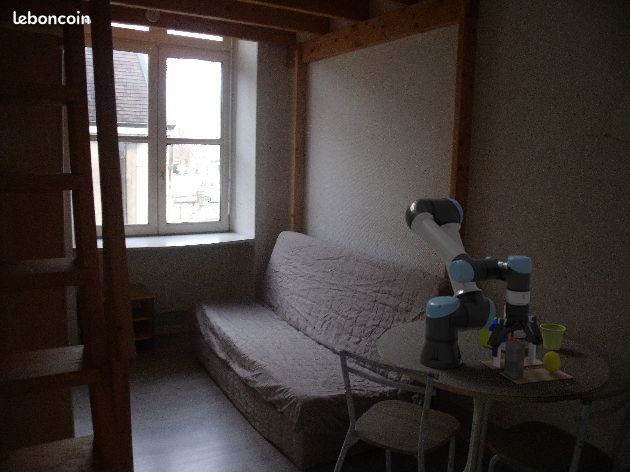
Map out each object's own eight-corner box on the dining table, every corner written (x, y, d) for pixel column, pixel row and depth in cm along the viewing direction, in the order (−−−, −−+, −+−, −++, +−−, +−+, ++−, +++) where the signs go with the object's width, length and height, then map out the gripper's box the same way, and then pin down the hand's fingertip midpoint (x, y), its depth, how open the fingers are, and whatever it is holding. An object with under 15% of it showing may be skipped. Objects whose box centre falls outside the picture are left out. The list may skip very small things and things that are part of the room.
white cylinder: (504, 330, 254) (505, 302, 253) (527, 333, 250) (529, 305, 249) (501, 335, 246) (502, 307, 244) (524, 339, 242) (526, 310, 240)
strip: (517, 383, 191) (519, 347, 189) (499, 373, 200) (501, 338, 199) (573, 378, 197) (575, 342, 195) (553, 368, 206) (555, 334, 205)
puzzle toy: (504, 350, 226) (505, 325, 225) (479, 345, 232) (480, 321, 231) (513, 344, 234) (514, 320, 233) (488, 339, 240) (490, 316, 239)
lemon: (556, 370, 203) (557, 348, 202) (562, 376, 197) (563, 353, 196) (540, 370, 203) (541, 348, 202) (545, 376, 198) (547, 353, 197)
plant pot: (556, 353, 223) (558, 331, 222) (534, 347, 230) (535, 326, 229) (569, 349, 229) (570, 327, 228) (546, 343, 236) (547, 322, 235)
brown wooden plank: (492, 369, 204) (492, 368, 204) (480, 362, 212) (480, 361, 212) (546, 364, 210) (546, 363, 210) (532, 357, 218) (532, 356, 218)
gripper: (491, 307, 186) (487, 371, 188) (556, 303, 193) (553, 364, 195) (478, 302, 193) (475, 363, 195) (542, 298, 200) (538, 357, 202)
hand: (514, 364), depth 195 cm, fingers open, 13 cm apart
